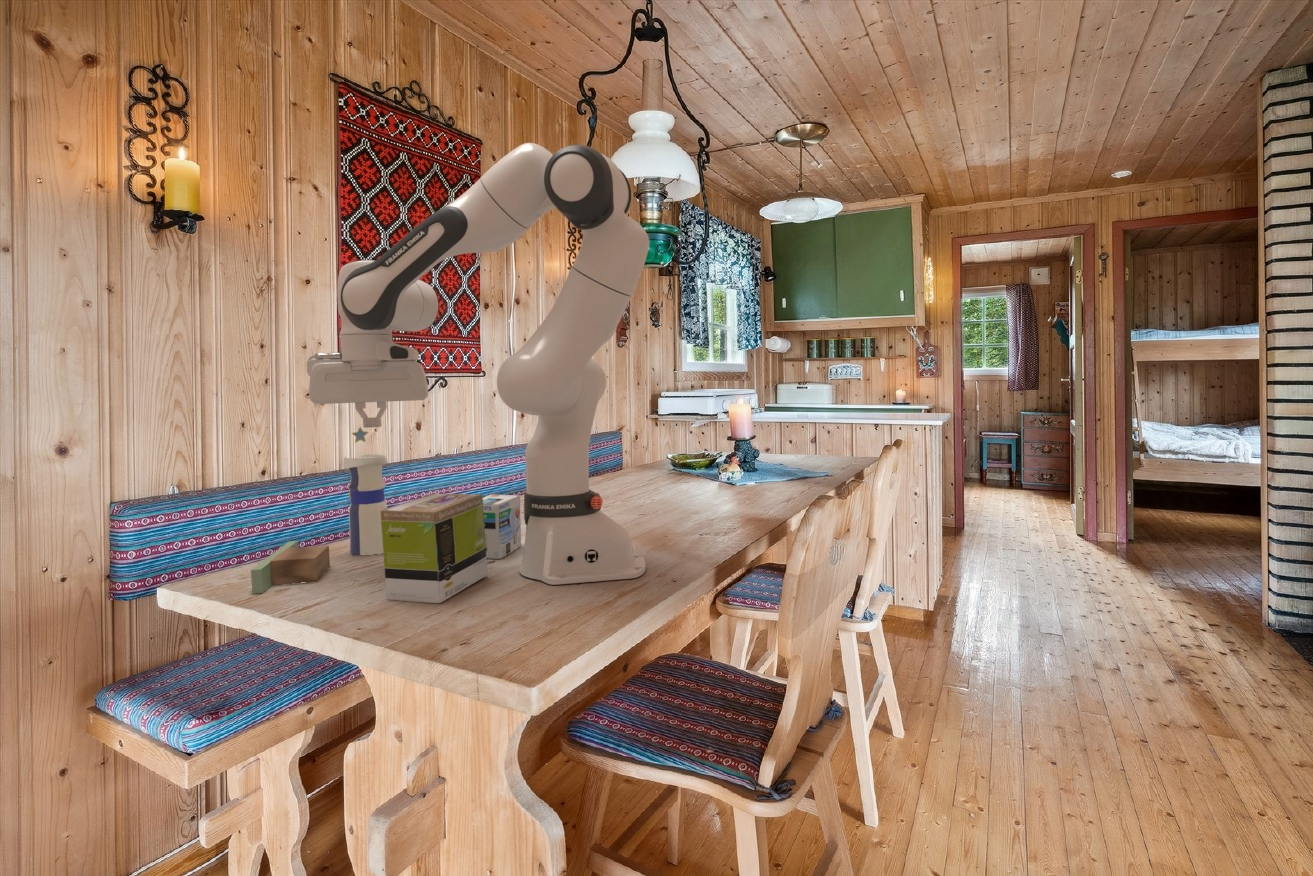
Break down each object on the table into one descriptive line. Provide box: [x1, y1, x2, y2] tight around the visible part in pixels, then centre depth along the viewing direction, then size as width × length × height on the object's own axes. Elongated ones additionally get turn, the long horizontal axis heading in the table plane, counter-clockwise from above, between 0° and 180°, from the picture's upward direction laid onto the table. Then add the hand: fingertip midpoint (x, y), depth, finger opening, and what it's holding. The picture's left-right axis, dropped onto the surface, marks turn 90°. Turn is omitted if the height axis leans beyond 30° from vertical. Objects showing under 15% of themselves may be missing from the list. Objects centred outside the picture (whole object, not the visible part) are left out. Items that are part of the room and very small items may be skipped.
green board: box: [250, 540, 299, 595], centre depth 121 cm, size 2×20×4 cm, turn 12°
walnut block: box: [270, 545, 331, 586], centre depth 121 cm, size 7×9×4 cm
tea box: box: [381, 493, 488, 604], centre depth 112 cm, size 15×10×15 cm, turn 165°
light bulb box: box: [482, 494, 522, 560], centre depth 136 cm, size 11×7×11 cm, turn 168°
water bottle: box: [343, 426, 389, 557], centre depth 137 cm, size 8×9×25 cm
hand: (372, 427), depth 127 cm, fingers closed
